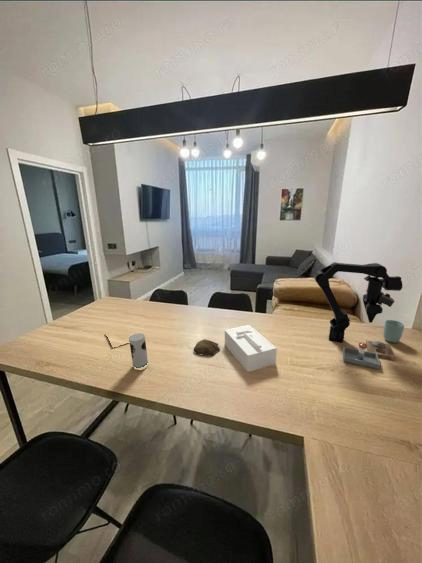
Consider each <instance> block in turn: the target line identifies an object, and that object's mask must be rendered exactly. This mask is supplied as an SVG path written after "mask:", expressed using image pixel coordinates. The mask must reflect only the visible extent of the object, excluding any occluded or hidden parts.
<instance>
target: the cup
mask: <svg viewBox="0 0 422 563" xmlns="http://www.w3.org/2000/svg"><path fill="white" fill-rule="evenodd" d="M404 329H405V324H404V323H402V322H400V321H398V320H394V319H386V320H385V322H384V326H383V332H382V333H383V338H384V340H386V341H387V342H389V343H393V344H394V343H398V342H401V339H402V337H403V333H404Z"/></svg>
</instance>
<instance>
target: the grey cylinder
mask: <svg viewBox="0 0 422 563" xmlns="http://www.w3.org/2000/svg"><path fill="white" fill-rule="evenodd" d="M129 342H130V343H129V348H130V354H131V356H130V357H131V362H132V367H133V366H134V367H136V368H141V367H144V366H145V365H147V363H148V364H149V360H148V352H147V343H146V335H145V334H144V333H135V334H134V335H132V336H130V337H129Z"/></svg>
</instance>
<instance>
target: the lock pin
mask: <svg viewBox="0 0 422 563" xmlns="http://www.w3.org/2000/svg"><path fill="white" fill-rule="evenodd" d="M366 349H367V345H366V342H365V343H364V342H359V343H358V350H359V351H358V356H357V359H358V360H363V359H364V354H365V351H366Z"/></svg>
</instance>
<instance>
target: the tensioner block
mask: <svg viewBox="0 0 422 563" xmlns="http://www.w3.org/2000/svg"><path fill="white" fill-rule="evenodd" d="M365 344H366V345H367V348H366V351H368V352H373V353H377V355H378V358H381V359H387V360H392V361H395V357H396V356H395V354H394V352H393V349H392V347H391V344H389V343H384V342H381V341H376V340H374V341H372V340H365Z"/></svg>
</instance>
